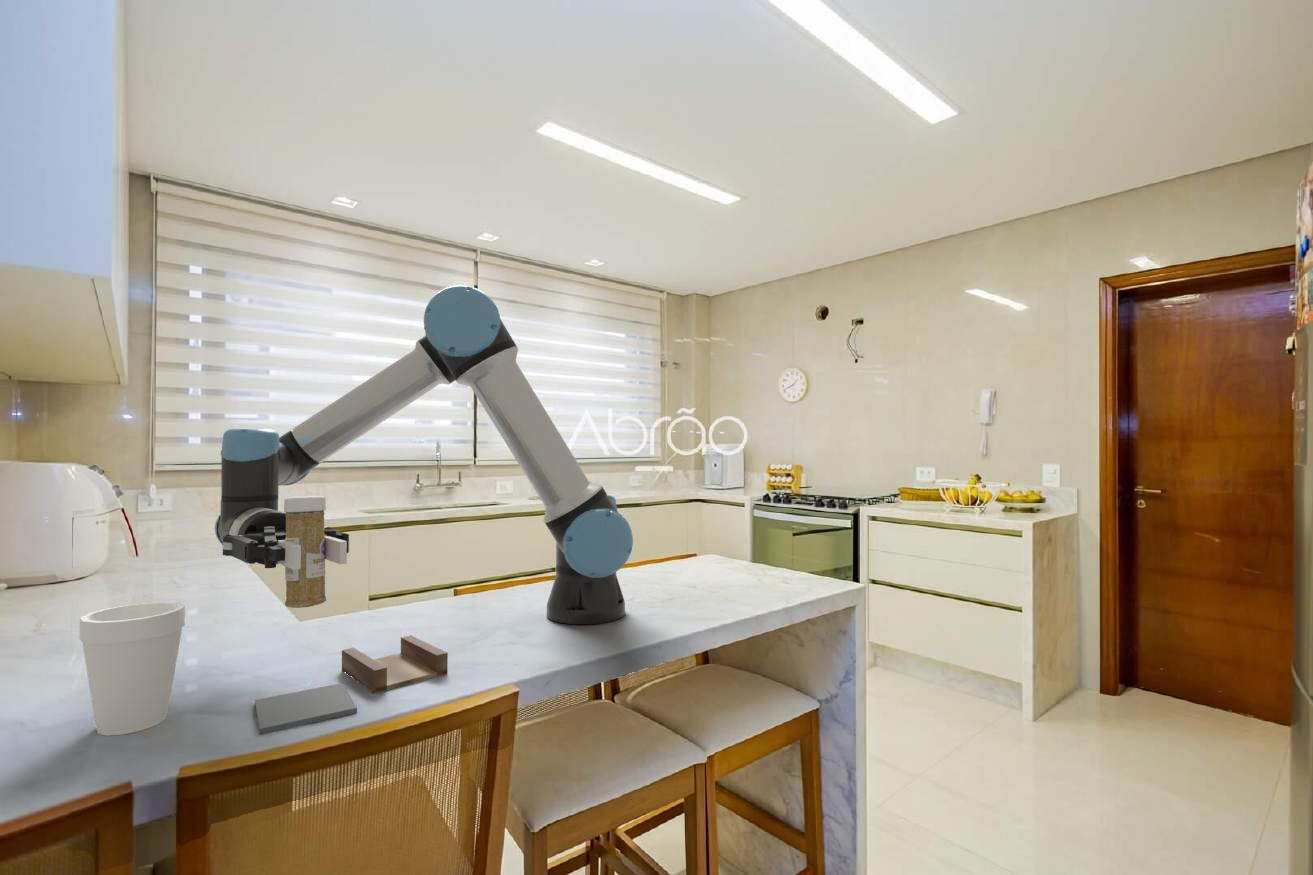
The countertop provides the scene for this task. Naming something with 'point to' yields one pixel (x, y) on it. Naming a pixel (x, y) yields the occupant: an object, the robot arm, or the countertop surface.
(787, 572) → the countertop surface
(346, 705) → the slate coaster
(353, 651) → the walnut cradle
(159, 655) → the foam cup
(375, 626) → the countertop surface
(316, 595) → the spice jar
